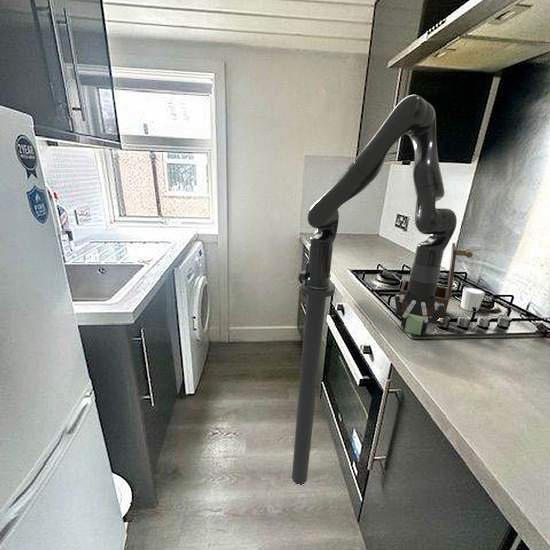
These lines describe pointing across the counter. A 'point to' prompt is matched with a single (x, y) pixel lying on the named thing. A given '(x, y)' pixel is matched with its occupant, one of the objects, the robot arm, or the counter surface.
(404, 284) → the chest
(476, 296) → the white cup
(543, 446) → the counter surface
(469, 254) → the lid
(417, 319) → the block
